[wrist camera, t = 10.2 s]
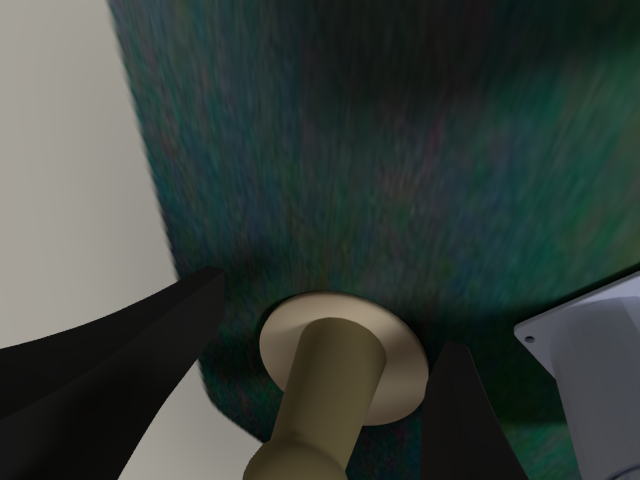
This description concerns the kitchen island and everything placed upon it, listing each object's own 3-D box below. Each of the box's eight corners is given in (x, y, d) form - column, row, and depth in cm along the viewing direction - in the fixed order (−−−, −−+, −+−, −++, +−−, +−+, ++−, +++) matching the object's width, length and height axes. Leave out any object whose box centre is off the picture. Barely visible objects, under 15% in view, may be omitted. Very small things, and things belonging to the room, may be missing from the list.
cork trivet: (467, 385, 26) (467, 395, 25) (341, 432, 32) (339, 441, 32) (342, 259, 24) (338, 266, 23) (234, 336, 30) (229, 343, 30)
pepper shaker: (373, 314, 24) (322, 499, 15) (396, 384, 26) (364, 580, 17) (287, 319, 26) (198, 482, 17) (315, 383, 29) (250, 555, 20)
